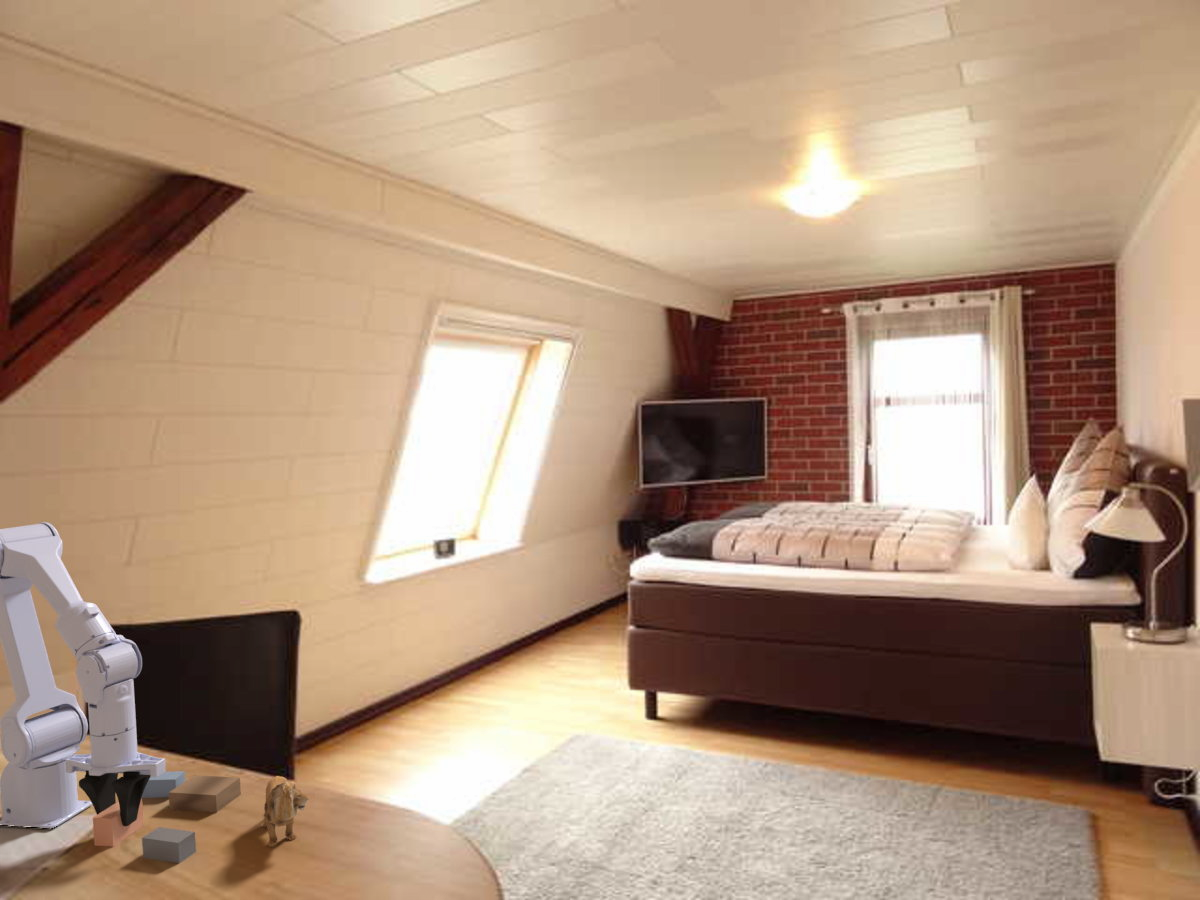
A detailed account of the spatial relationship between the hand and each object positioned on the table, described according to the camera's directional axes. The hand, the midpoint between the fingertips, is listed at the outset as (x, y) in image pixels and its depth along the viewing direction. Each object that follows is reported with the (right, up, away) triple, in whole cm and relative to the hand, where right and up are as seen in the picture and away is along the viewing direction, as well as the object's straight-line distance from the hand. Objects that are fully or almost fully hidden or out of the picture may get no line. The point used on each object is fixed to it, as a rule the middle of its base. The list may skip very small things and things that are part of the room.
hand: (118, 822), depth 121 cm
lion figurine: (+24, -2, 0) cm, 24 cm away
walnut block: (+8, -2, +10) cm, 13 cm away
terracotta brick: (0, -2, 0) cm, 2 cm away
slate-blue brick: (-1, -2, +13) cm, 14 cm away
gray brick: (+10, -2, -6) cm, 12 cm away
